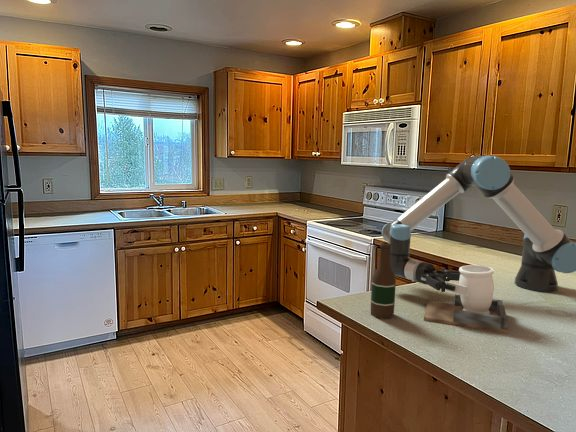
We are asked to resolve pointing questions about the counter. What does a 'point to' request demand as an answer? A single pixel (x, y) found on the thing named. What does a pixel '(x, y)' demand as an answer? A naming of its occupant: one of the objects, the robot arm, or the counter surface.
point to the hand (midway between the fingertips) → (477, 287)
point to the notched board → (448, 315)
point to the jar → (477, 288)
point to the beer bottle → (383, 286)
